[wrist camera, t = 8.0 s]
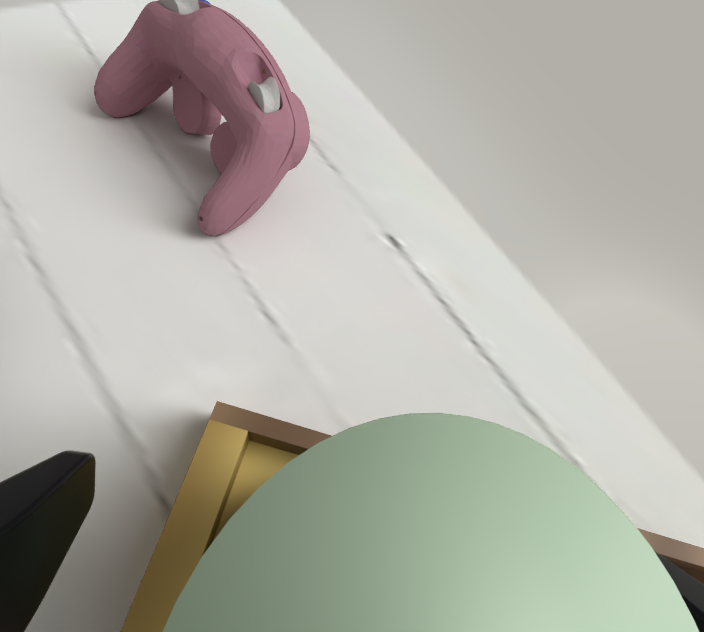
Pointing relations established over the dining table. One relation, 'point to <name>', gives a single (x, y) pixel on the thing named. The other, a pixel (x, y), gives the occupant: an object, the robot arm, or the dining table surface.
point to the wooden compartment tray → (236, 488)
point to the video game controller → (212, 100)
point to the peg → (430, 542)
